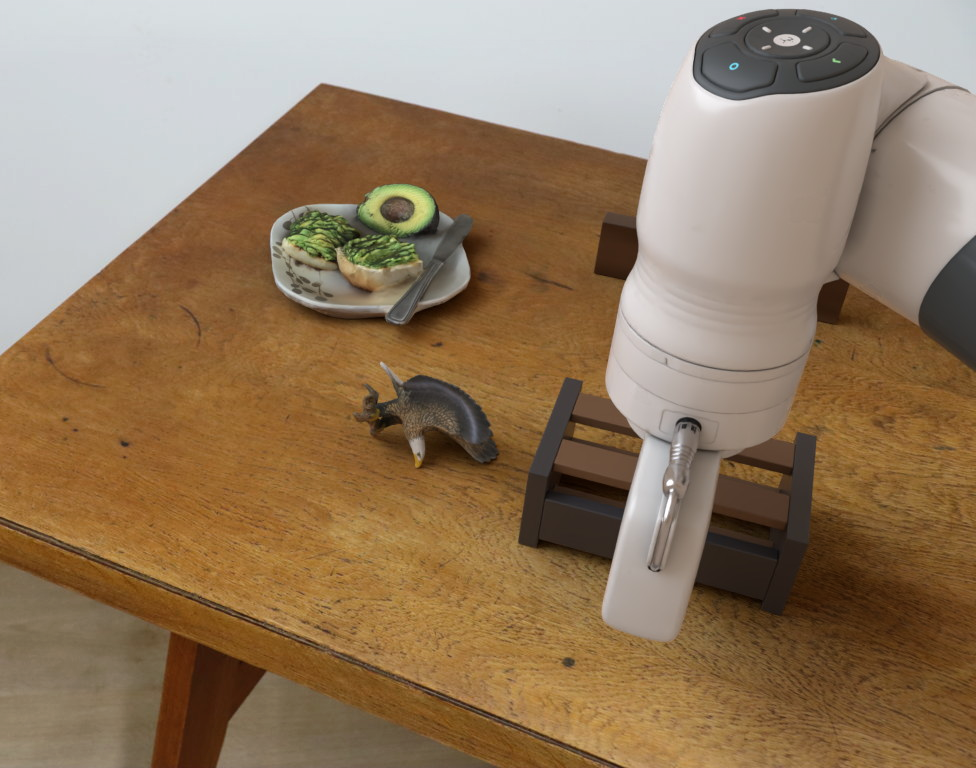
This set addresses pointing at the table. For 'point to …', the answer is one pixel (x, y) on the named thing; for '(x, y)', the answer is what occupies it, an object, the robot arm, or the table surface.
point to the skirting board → (622, 253)
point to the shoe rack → (725, 553)
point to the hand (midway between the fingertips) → (650, 566)
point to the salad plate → (371, 255)
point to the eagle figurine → (430, 415)
